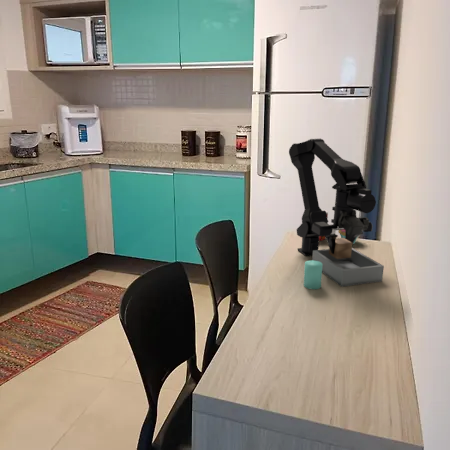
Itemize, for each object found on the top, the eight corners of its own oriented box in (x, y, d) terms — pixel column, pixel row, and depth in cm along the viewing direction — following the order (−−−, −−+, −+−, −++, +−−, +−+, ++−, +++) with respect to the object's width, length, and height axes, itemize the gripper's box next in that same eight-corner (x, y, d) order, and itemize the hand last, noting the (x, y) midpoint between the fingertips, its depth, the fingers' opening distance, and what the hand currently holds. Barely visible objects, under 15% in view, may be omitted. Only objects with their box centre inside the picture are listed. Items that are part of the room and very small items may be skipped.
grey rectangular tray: (311, 264, 146) (312, 250, 145) (348, 260, 151) (350, 246, 149) (341, 286, 130) (343, 270, 129) (382, 281, 134) (383, 265, 133)
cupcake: (332, 240, 171) (335, 210, 168) (350, 237, 175) (353, 208, 171) (347, 247, 164) (350, 215, 160) (365, 244, 167) (368, 213, 164)
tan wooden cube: (337, 259, 140) (338, 244, 138) (328, 253, 144) (330, 239, 143) (350, 257, 141) (352, 242, 140) (342, 252, 146) (343, 237, 144)
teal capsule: (300, 283, 132) (301, 261, 130) (315, 281, 133) (317, 259, 131) (308, 290, 127) (310, 267, 125) (324, 288, 129) (325, 265, 127)
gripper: (331, 213, 128) (327, 264, 132) (386, 209, 133) (380, 258, 138) (312, 204, 138) (309, 252, 143) (364, 201, 144) (359, 246, 148)
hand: (339, 252), depth 143 cm, fingers closed on tan wooden cube, 5 cm apart
